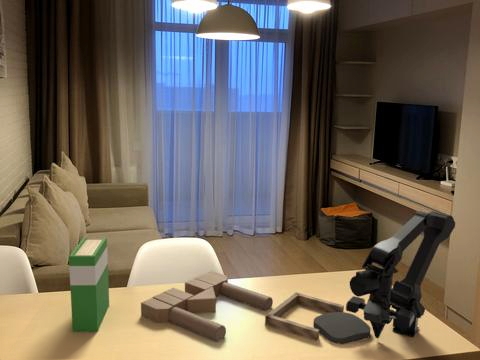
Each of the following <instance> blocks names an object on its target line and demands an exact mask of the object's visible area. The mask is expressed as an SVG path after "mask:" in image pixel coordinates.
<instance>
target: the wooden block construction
mask: <svg viewBox="0 0 480 360" xmlns="http://www.w3.org/2000/svg"><path fill="white" fill-rule="evenodd" d="M218 296H222V297H225V298H228V299H231V300H233V301H236V302H240V303H241V302H242V303H241V304H244V303H245V304H244V305H247V306H251V307H253V308H256V309H259V310H260V311H263V312H267V311H269V310H271V309H272V307H273V304H274V303H273V301H274V300H273V298H272V297H271V296H268V295H266V294H265V295H264V294H262V293H259V292H256V291H253V290H249V289H246V288H245V287H241V286H238V285H235V284H233V283H229V279H228V275H226V274H222V273H219V272H216V271H214V270H210V271H208V272H206V273H203V274H201V275H199V276H196V277H194V278H192V279H189V280H187V281H184V290H181V289H178V288H175V287H171V288H169V289H167V290H164V291H162V292H160V293H158V294H156V295H154V296H152V297H150V298H149V299H146V300H144V301H141V302H140V316H141V317H142V318H145V319H147V320H149V321H151V322H153V323H156V324H163V323H164V324H165V323H166V324H167V323H173V324H175V325H178V326H179V327H182V328H184V329H187V330H189V331H192V332H194V333H196V334H198V335H200V336H203V337H206V338H207V339H209V340H213V341H215V342H220V341H221V340H223V339H224V338H225V337H226V333H227V328H226V326H225V325H224V324H223V325H222V324H220V323H218V322H215V321H213V320H211V319H208V318H206V317H203V316H200V315H199V313H215V312H217V311H216V310H217V297H218ZM196 313H197V314H196Z"/></svg>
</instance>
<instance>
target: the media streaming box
mask: <svg viewBox="0 0 480 360" xmlns="http://www.w3.org/2000/svg"><path fill="white" fill-rule="evenodd" d="M312 328H315V329H319V335H321V336H322V337H324V338H325V339H326V340H327V341H328V342H330V343H332V344H338V345H346V344H350V343H355V342H358V341H359V342H360V341H363V340H367V339H369V338H370V337H371V330H372V328H371V326H370V325H369V324H368V323H366V322H365V321H364V319H362V318H360V317H359V316H357V315H355V314H354V313H353V314H352V313H351V312H345V311H344V312H331V313H330V312H327V313H323V314H320V315H318V316H316V317H314V319H313V327H312Z"/></svg>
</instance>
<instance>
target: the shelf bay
mask: <svg viewBox="0 0 480 360" xmlns="http://www.w3.org/2000/svg"><path fill="white" fill-rule="evenodd" d="M298 304H299V305H302V306H306V307H309V308H313V309H317V310H319V311H324V312H327V313H331V312H345V311H344V310H345V309H344V308H345V307H344V306H345V305H344V304H339V303H336V302H332V301H328V300H326V299H325V300H324V299H322V298H318V297H314V296H309V295H306V294H303V293H300V292H295V293H293V294H292V295H290V296H289V297H288V298H286V300H284V301H282V303H280V304H279V305H278V306H276V307H275V308H274V309H272V310H271V311H270V312H269V313H266V315H265V316H264V318H265V319H264V325H265V326H268V327H272V328H274V329H278V330H281V331H283V332H286V333H290V334H293V335H296V336H299V337H302V338H305V339H309V340H312V341H313V342H317V341H319V340H320V333H319V329H315V328H314V327H311V326H308V325H305V324H302V323H299V322H296V321H292V320H289V319H286V318H282V317H283V316H284V315H285V314H286V313H288V312H289V311H290V310H291V309H292V308H294V307H295V306H296V305H298Z"/></svg>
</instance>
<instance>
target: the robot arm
mask: <svg viewBox="0 0 480 360" xmlns="http://www.w3.org/2000/svg"><path fill="white" fill-rule="evenodd" d="M454 219H455V218H454V217H453V216H452V215H449V214H446V213H442V212H438V211H435V210H434V211H433V210H432V211H430V212H424V211H421V210H417V211H415V212H414V213H413V216H412V217H411V218H410V219H409V220H408V221H407V222H406V223H404V225H403V226H402V227H400V228H399V230H398V231H397V232H396V233H395V234H393V236H391V237H390V238H388V239H385V240H381V241H380V242H378V243H376V244H375V245H374V246H373V247H372V248H371V249H370V251H369V253H368V255H367V257H366V259H365V260H364V262H363V264H362V266H361V269H364V270H362V271H361V270H358V271H356V272H355V275H353V277H351V279H350V280H349V288H350V290H351V292H352V294H353V295H354V296H352V297H351V298H349V300H348V301H346V304H345V310H346V312H348V313H353V314H356V313H358V312H359V309H360V310H362V311H363V320H365V321H367V322H370V325H371V326H372V327H371V329H372V331H373V334H374V337H375V339H379V338H380V337H381V334H382V332H383V330H384V328H385V326H386V325H389V324H391V322H392V327H393V328H392V332H394V333H395V332H396V333H399V334H401V335H405V336H410V337H413V338H414V337H415V336H416V334H417V333H418V331H419V328H420V327H419V326H418V325H419V324H418V323H419V319H421V318H422V316H424V314H425V311H426V307H424V305H423V304H422V303H421V300H422V289H421V285H422V283H423V281H424V278H425V276H426V274H427V272H428V270H429V267H430V266H431V263H432V261H433V259H434V257H435V255H436V252H437V250H438V248H439V245H440V244H441V243H443V242H444V241H446V240H447V239H448V238H449V237H450V236H451V234H452V232H454V231H453V230H454V229H455V228H456V221H455V220H454ZM422 233H423V238H422V240H421V241H420V244H419V247H418V248H417V250H416V252H415V255H414V258H413V260H412V262H411V264H410V266H409V268H408V270H407V271H406V275H405V277H404V278H403V279H401V280H395V282H394V283H393V279H394V278H393V277H394V274H398V273H399V270H398V269H397V268H396V267H397V265H398V264H399V263H400V261H402V259H403V254H404V253H403V252H404V251H405V250H406V249H407V248H408V247H409V246H410V245H411V244H412V243H413V242H414V241H415V240H416V239H417V238H418V237H419V236H420V235H421V234H422ZM367 295H368V296H369V297H368V299H367V302H366V300H365V298H363V296H367ZM361 297H362V298H361Z"/></svg>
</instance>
